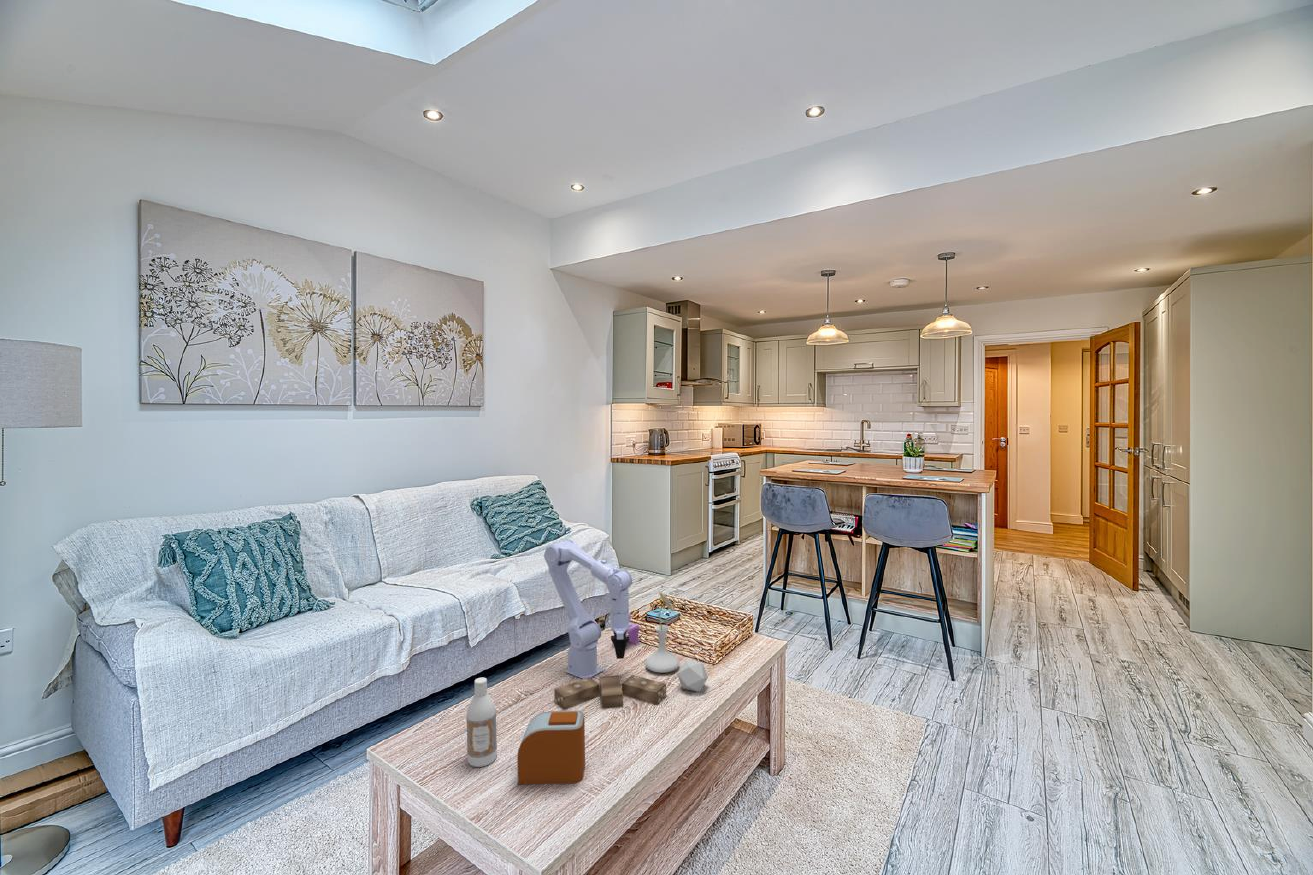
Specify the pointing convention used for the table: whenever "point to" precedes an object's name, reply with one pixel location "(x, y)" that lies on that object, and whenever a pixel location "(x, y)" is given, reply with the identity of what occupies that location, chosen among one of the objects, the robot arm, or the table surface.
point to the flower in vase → (662, 647)
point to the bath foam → (481, 727)
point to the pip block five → (644, 689)
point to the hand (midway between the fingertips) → (620, 652)
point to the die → (692, 675)
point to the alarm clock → (553, 749)
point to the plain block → (611, 692)
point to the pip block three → (576, 693)
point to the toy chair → (632, 632)
